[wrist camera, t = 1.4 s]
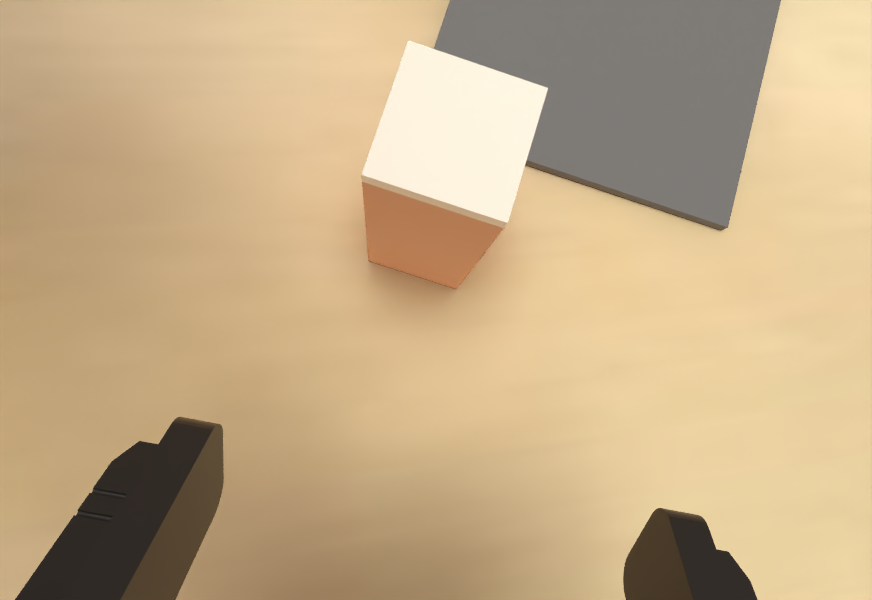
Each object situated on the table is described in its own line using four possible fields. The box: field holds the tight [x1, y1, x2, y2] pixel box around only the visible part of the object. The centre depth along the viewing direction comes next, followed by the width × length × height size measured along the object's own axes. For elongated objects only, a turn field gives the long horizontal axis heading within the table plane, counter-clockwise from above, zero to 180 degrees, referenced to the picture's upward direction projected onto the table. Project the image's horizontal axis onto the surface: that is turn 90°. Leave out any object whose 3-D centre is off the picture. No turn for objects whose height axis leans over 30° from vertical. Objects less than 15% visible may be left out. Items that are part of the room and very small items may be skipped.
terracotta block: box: [362, 40, 548, 289], centre depth 24 cm, size 4×4×12 cm
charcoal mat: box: [434, 0, 781, 230], centre depth 32 cm, size 17×18×1 cm
